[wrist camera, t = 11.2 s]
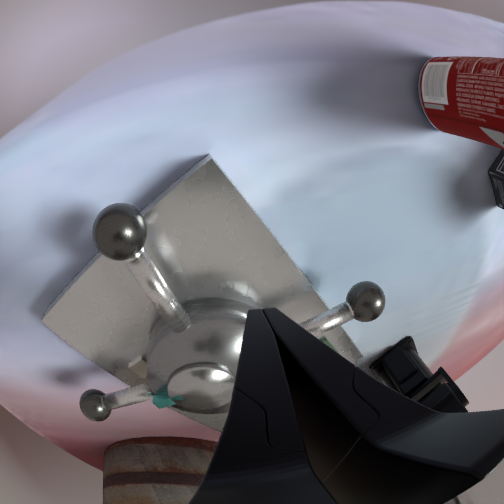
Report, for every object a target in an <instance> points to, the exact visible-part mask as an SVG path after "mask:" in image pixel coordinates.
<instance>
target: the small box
mask: <svg viewBox="0 0 504 504" xmlns="http://www.w3.org/2000/svg"><path fill="white" fill-rule="evenodd" d="M489 175H490V178H491V181H492V185H493V189H494V193H495V198H496V202H497V205H498V207H500V208H502V209H504V149H502V151H501V153H500V154H499V156H498V157H497V159H496V161H495V162H494V164H493V165H492V167H491V168H490V170H489Z"/></svg>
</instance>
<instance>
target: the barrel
mask: <svg viewBox="0 0 504 504" xmlns="http://www.w3.org/2000/svg"><path fill="white" fill-rule="evenodd" d="M216 446H217V442H214V441H208V440H202V439H196V438H184V437H142V438H131V439H127V440H123V441H119V442H116V443H114V444H112V445H110V446H108V447H107V449H106V451H105V453H104V471H103V504H188V503H189V501H190V500H191V498H192V497H193V496H194V494H195V493H196V491H197V489H198V488H199V486H200V484H201V482H202V480H203V478H204V476H205V473H206V471H207V469H208V466H209V464H210V461H211V459H212V456H213V454H214V451H215V448H216Z"/></svg>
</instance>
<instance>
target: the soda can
mask: <svg viewBox="0 0 504 504" xmlns="http://www.w3.org/2000/svg"><path fill="white" fill-rule="evenodd" d="M418 92H419V99H420V103H421V106H422V109H423V111H424V114H425V116H426V117H427V119H428V120H429V122H430V123H431V124H432V125H433V126H434V127H435V128H436V129H438V130H439V131H442V132H445V133H449V134H453V135H457V136H461V137H465V138H468V139H472V140H475V141H479V142H482V143H485V144H489V145H492V146H495V147H498V148H501V149H504V59H503V58H489V57H434V58H431V59H429V60H428V61H427V62H426V63H425V64H424V65H423V67H422V69H421V72H420V75H419V81H418Z"/></svg>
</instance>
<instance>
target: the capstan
mask: <svg viewBox="0 0 504 504" xmlns="http://www.w3.org/2000/svg"><path fill="white" fill-rule="evenodd" d="M146 238H147V225H146V221H145V219H144V217H143V215H142V214H141V213H140V211H139V210H137V209H136V208H135V207H133V206H131V205H129V204H125V203H116V204H112V205H109V206H107V207H106V208H104V209H103V210H102V211H101V212H100V213H99V214H98V216H97V217H96V219H95V222H94V225H93V240H94V243H95V245H96V247H97V249H98V250H99V252H100V253H101V254H103V255H104V256H105V257H107V258H109V259H111V260H116V261H123V262H124V264H125V265H126V267H127V268H128V270H129V271H130V273H131V274H132V276H133V277H134V279H135V280H136V282H137V283H138V284H139V286H140V287H141V289H142V290H143V292H144V293H145V294H146V296H147V297H148V299H149V300H150V301H151V303H152V304H153V306H154V307H155V308H156V310H157V311H158V312H159V314H160V315H161V316H162V318H161V319H160V320H159V321H158V322H157V323H156V324H155V326H154V328H153V329H152V332H151V334H150V337H149V343H148V355H147V369H146V377H147V383H144V384H140V385H137V386H134V387H130V388H127V389H124V390H120V391H117V392H113V393H110V394H105V393H103V392H102V391H100V390H96V389H90V390H87V391H85V392H84V393H83V394H82V396H81V398H80V408H81V411H82V413H83V414H84V415H85V416H86V417H87V418H89V419H90V420H93V421H103V420H105V419H107V418H108V417H109V415H110V413H111V410H112V409H116V408H120V407H124V406H128V405H132V404H136V403H139V402H143V401H147V400H150V399H153V404H155V405H156V406H157V407H158V408H159V409H160V408H164V407H168V406H172V407H174V408H176V409H179V410H182V411H186V412H190V413H197V414H222V413H228V411H229V406H230V402H231V397H232V392H233V387H234V382H235V376H236V371H237V366H238V360H239V355H240V349H241V344H242V338H243V333H244V327H245V322H246V316H247V311H248V310H249V309H256V308H254V307H252V306H250V305H248V304H245V303H242V302H239V301H235V300H230V299H220V298H214V299H202V300H197V301H193V302H189V303H186V304H183V305H181V304H180V303H179V301H178V300H177V298H176V297H175V295H174V294H173V292H172V291H171V289H170V288H169V286H168V285H167V283H166V281H165V280H164V278H163V277H162V275H161V274H160V272H159V271H158V269H157V267H156V266H155V264H154V263H153V261H152V259H151V258H150V256H149V255H148V253H147V251H146V250H145V248H144V247H143V246H144V244H145V242H146ZM384 307H385V295H384V292H383V291H382V289H381V288H380V287H379V286H378V285H377V284H375V283H373V282H369V281H363V282H360V283H357V284H355V285H354V286H353V287H352V288H351V289H350V290H349V292H348V294H347V297H346V302H344V303H342V304H339V305H337V306H335V307H333V308H331V309H329V310H327V311H325V312H323V313H321V314H319V315H317V316H315V317H313V318H310V319H308V320H306V321H304V322H302V323H300V324H299V325H300V326H302V327H303V328H304V329H306V330H307V331H308V332H310V333H311V334H312V335H314V336H315V337H317V336H319V335H321V334H324V333H326V332H328V331H330V330H332V329H334V328H336V327H338V326H340V325H342V324H344V323H346V322H348V321H350V320H352V319H353V318H354V319H356V320H358V321H361V322H369V321H372V320H375V319H376V318H377V317H379V316H380V315H381V313H382V312H383V310H384Z"/></svg>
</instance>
